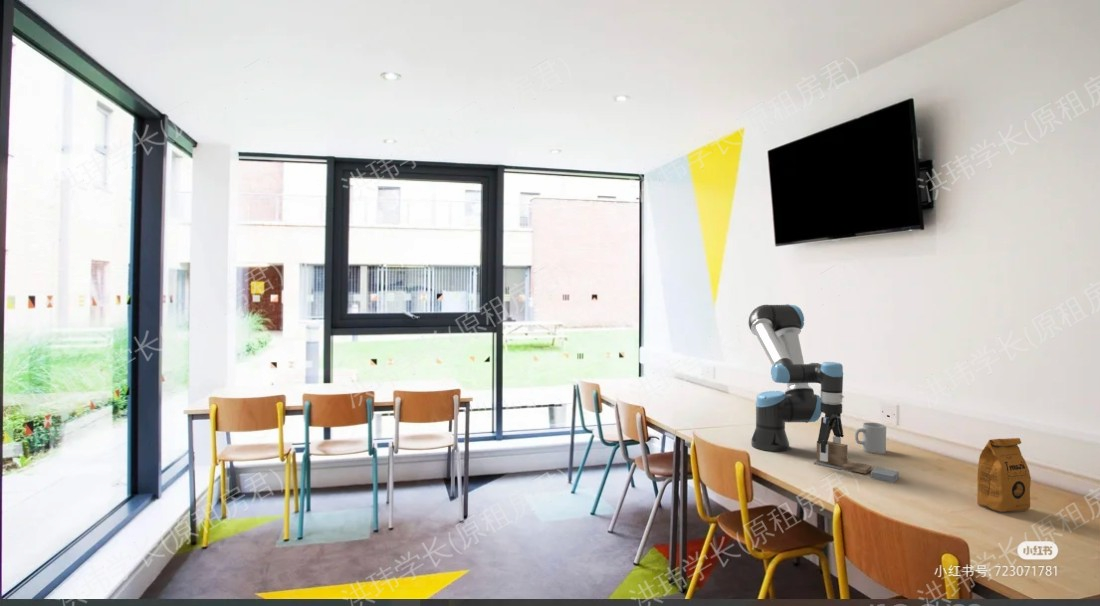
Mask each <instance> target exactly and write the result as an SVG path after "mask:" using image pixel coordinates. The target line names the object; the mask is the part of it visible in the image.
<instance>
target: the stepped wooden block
mask: <svg viewBox="0 0 1100 606" xmlns="http://www.w3.org/2000/svg"><path fill="white" fill-rule="evenodd" d="M827 444H828V462H825V461H821V460H820V443H817V442H816V461H817V462H820V463H824V464H829V465H834V466H838V467H842V469H846V470H850V471H853V472H855V473H861V474H868V473H869V472H871V471H872V470H873V465H871V464H866V463H862V462H857V461H852V460H848V444H845V443H841V444H840V443H835V442H833V441H830V440H828V443H827Z"/></svg>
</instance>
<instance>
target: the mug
mask: <svg viewBox="0 0 1100 606" xmlns="http://www.w3.org/2000/svg"><path fill="white" fill-rule="evenodd" d="M860 433H862V440H859V434H860ZM854 434H855V435H854V437H855V439H854V440H855V443H856V444H858V445H861V446H862V450H863V451H864V452H867V453H870V454H874V455H875V454H878V455H880V454H883V455H884V454H886V453H887V425H885V424H883V423H877V422H864V423H863V424H862V427H859V428H857V429H856V431H855V433H854Z"/></svg>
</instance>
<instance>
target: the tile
mask: <svg viewBox="0 0 1100 606" xmlns="http://www.w3.org/2000/svg"><path fill="white" fill-rule="evenodd" d="M899 475H900V472H899V470H896V469H890V468H885V467H881V466H876V467H875V468H874V469H872V470H870V479H873V480H878V481H882V482H887V483H892V484H893V483H895V482H896V481H897V479H899V478H900V477H899Z"/></svg>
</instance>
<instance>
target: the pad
mask: <svg viewBox="0 0 1100 606" xmlns="http://www.w3.org/2000/svg"><path fill="white" fill-rule="evenodd" d="M813 463H814V464H813V465H816V464H818V465H817V466H821V465H822V467H827V468H830V469H835V470H840V471H845V472H850V473H853V472H854V471H850V470H846V469H842V467H838V466H834V465H829V464H824V463H820V462H817V460H816V461H814V462H813Z"/></svg>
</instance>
